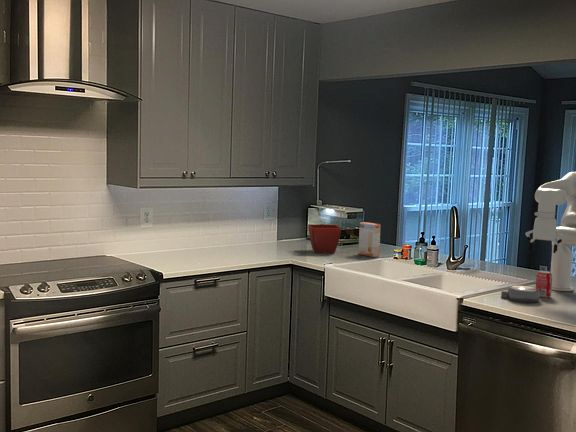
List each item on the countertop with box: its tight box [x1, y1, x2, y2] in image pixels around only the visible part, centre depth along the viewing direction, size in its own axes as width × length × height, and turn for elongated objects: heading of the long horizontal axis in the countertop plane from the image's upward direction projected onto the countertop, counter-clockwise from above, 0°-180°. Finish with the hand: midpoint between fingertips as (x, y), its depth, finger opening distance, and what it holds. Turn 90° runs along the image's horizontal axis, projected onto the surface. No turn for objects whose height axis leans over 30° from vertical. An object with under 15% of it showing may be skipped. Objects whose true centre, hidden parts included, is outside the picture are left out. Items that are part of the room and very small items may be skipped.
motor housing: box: [500, 285, 541, 305], centre depth 294 cm, size 14×16×6 cm
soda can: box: [535, 270, 553, 299], centre depth 302 cm, size 7×7×12 cm
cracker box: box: [357, 221, 381, 258], centre depth 405 cm, size 14×6×21 cm, turn 34°
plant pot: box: [307, 224, 342, 254], centre depth 416 cm, size 19×19×17 cm
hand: (543, 251), depth 301 cm, fingers open, 9 cm apart
